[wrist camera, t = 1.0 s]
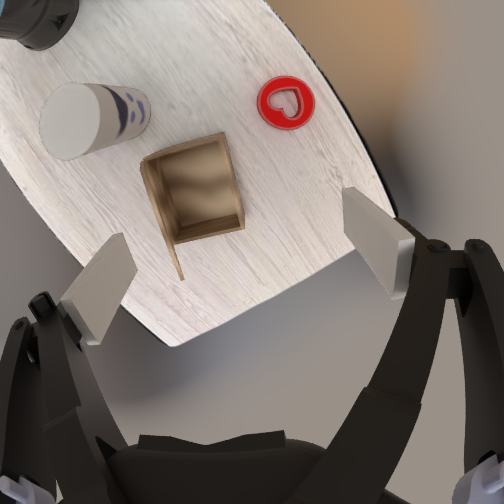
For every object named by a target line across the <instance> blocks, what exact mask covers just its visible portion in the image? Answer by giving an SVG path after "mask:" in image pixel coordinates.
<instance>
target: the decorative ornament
mask: <svg viewBox="0 0 504 504" xmlns="http://www.w3.org/2000/svg"><path fill="white" fill-rule="evenodd" d="M284 90H293V91H294V92H295V95H296V98H297V102H298V111H297V113H296V115H295V116H294V117H288V116H286V114H285V113H284V111H283V108H280V109H277V108H274V107H272V106H271V105H270V103H269V99H270V96H271V95H272V94H274V93H276V92H279V91H284ZM257 108H258V111H259V114H260V115H261V117H262V118H263V119H264V120H265V121H266V122H267V123H268V124H270V125H271V126H273V127H276V128H279V129H283V130H292V129H296V128H299V127H301V126H303V125H304V124H306V123H307V122H308V121H309V120H310V118H311V117H312V115H313V112H314V108H315V99H314V95H313V93H312V91H311V89H310V88H309V87H308V85H307V84H306V83H305V82H303V81H302V80H300V79H298V78H295V77H292V76H279V77H275V78H273V79H271V80H269V81H268V82H267V83H265V85H264V86H263V87H262V88H261V90H260V92H259V94H258V97H257Z"/></svg>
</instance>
